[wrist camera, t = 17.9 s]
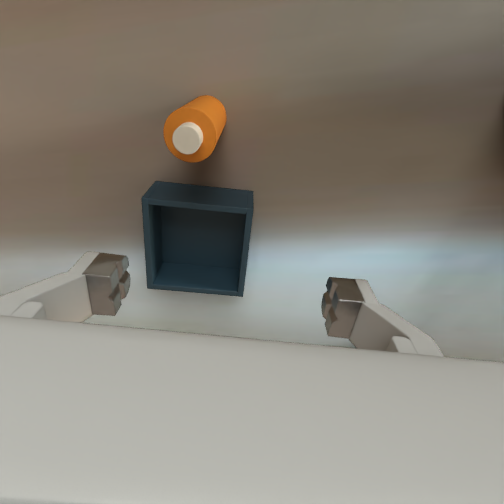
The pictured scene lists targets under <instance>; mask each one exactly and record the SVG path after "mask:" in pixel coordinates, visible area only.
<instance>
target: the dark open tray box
mask: <svg viewBox="0 0 504 504" xmlns="http://www.w3.org/2000/svg"><path fill="white" fill-rule="evenodd" d="M142 213H143V229H144V244H145V260H146V275H147V288H149V289H160V290H172V291H183V292H195V293H206V294H218V295H230V296H240V297H243V292H244V284H245V275H246V267H247V259H248V250H249V242H250V233H251V225H252V217H253V191H246V190H237V189H227V188H218V187H208V186H199V185H189V184H179V183H170V182H160V181H155V182H154V184H153V185H152V186H151V187H150V188H149V190H148V191H147V192H146V193H145V194H144V196H143V197H142Z"/></svg>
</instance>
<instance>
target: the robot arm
mask: <svg viewBox="0 0 504 504" xmlns="http://www.w3.org/2000/svg"><path fill="white" fill-rule="evenodd" d="M128 266H129V261H128V257H127V256H123V255H115V254H107V253H100V252H86V253H85V254H84V255H83V256H82V257H81V258H80V259H79V260H78V261H77V262H76V264H75V265H74V266H73V267H72V268H71V269H70V270H69V271H68V272H67V273H60V274H58V275H55V276H53V277H50V278H47V279H45V280H42V281H39V282H37V283H34V284H32V285H29V286H26V287H24V288H21V289H18V290H16V291H13V292H11V293H8V294H5V295H3V296H0V504H504V362H496V361H485V360H474V359H463V358H453V357H444V355H443V353H442V352H441V350H440V349H439V347H438V346H437V344H436V342H435V341H434V339H433V338H431V337H430V336H428V335H427V334H425V333H424V332H422V331H421V330H419V329H418V328H416V327H415V326H414V325H412V324H411V323H409V322H408V321H406V320H405V319H403V318H402V317H400V316H399V315H398V314H396V313H395V312H393V311H392V310H390V309H389V308H387V307H386V306H384V305H383V304H379V303H378V301H377V299H376V297H375V295H374V293H373V291H372V289H371V287H370V285H369V283H368V281H367V280H362V279H347V278H334V277H329V279H328V280H327V284H326V287H327V290H328V291H327V292H326V293H324V295H323V299H322V306H321V308H322V315H323V317H324V318H325V319H326V322H325V327H326V330H327V334H328V336H332V337H340V338H349V340H350V341H351V342H352V343H353V344H354V346H355V347H356V348H346V347H335V346H325V345H314V344H303V343H292V342H282V341H271V340H260V339H249V338H239V337H228V336H217V335H207V334H196V333H185V332H175V331H164V330H153V329H142V328H132V327H121V326H110V325H100V324H89V323H82V322H83V321H85V320H86V319H88V318H89V317H91V316H92V314H96V315H110V316H115V315H116V313H117V312H118V310H119V308H120V306H121V299H123V298H125V297H126V296H127V294H128V291H129V287H130V274H129V273H128V272H127V271H126V269H127V268H128Z"/></svg>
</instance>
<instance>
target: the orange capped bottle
mask: <svg viewBox="0 0 504 504" xmlns="http://www.w3.org/2000/svg"><path fill="white" fill-rule="evenodd" d="M225 123H226V112H225V109H224V107H223V105H222V104H221V102H220V101H219V100H217V99H216V98H214V97H212V96H207V95H204V96H200V97H197V98H196V99H194V100H192V101H191V102H189V103H187V104H186V105H184V106H182V107H180V108H179V109H177V110H175V111H174V112H173V113H171V114H170V115H169V117H168V118H167V120H166V122H165V125H164V140H165V143H166V145H167V147H168V149H169V150H170V151H171V153H172V154H173V155H174V156H176V157H177V158H179V159H180V160H183V161H186V162H199V161H202V160H204V159H206V158H207V157H208V156H209V155H210V154H211V153H212V152H213V150H214V148H215V146H216V144H217V141H218V139H219V137H220V135H221V133H222V130H223V128H224V126H225Z"/></svg>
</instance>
